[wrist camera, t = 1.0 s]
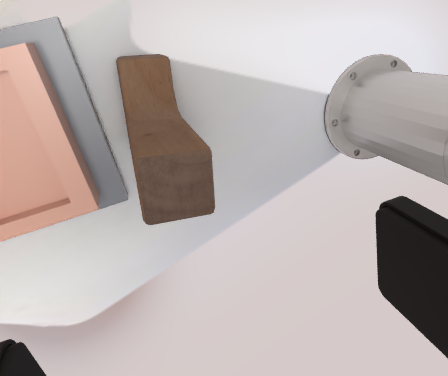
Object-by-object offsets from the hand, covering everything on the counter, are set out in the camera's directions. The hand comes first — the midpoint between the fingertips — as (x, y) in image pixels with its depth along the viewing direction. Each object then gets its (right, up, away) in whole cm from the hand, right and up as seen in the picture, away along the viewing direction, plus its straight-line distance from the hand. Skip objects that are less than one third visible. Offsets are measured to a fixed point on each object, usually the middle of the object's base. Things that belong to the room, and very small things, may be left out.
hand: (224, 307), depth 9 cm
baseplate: (-20, +8, +24) cm, 32 cm away
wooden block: (-8, +12, +27) cm, 30 cm away
